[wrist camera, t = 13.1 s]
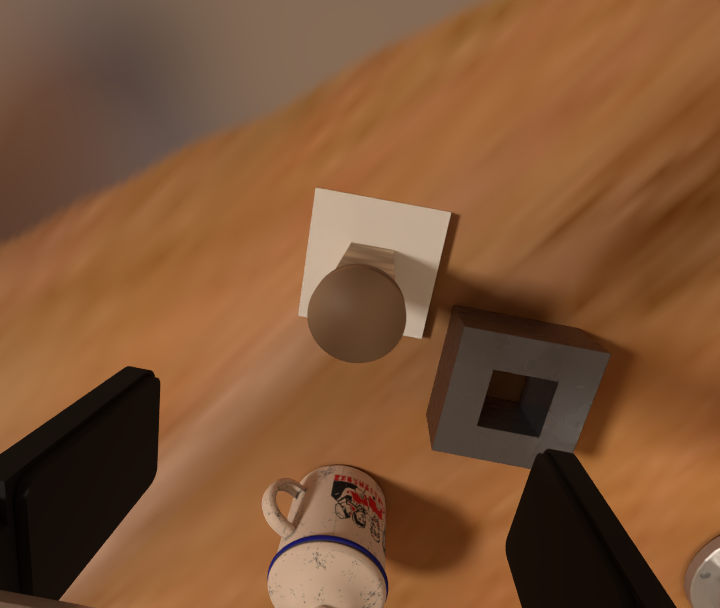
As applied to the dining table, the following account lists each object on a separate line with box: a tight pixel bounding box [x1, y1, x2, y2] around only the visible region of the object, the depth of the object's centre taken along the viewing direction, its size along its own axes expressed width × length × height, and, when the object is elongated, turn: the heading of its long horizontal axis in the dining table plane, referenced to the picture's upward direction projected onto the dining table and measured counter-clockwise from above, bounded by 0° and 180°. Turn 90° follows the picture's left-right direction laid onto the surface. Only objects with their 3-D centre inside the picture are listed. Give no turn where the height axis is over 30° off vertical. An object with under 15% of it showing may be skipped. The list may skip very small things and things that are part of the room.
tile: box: [298, 187, 451, 339], centre depth 32 cm, size 10×10×1 cm
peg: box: [307, 242, 406, 363], centre depth 26 cm, size 5×5×12 cm
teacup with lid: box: [262, 465, 388, 608], centre depth 34 cm, size 12×9×12 cm
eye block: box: [426, 305, 611, 469], centre depth 32 cm, size 10×10×5 cm
